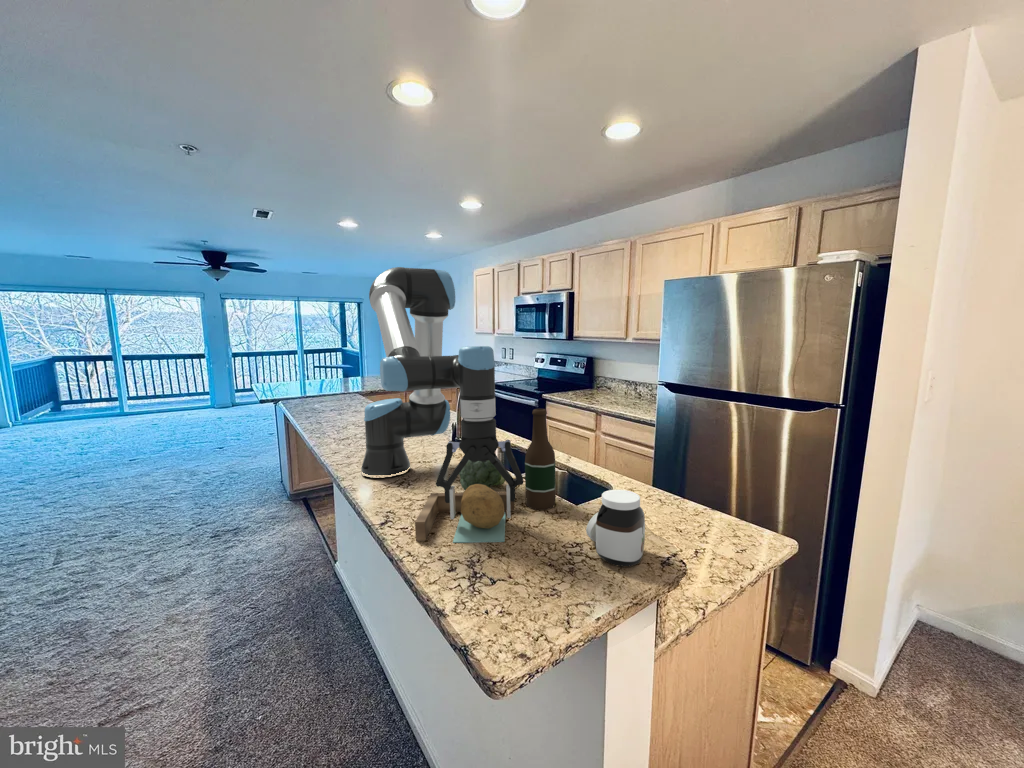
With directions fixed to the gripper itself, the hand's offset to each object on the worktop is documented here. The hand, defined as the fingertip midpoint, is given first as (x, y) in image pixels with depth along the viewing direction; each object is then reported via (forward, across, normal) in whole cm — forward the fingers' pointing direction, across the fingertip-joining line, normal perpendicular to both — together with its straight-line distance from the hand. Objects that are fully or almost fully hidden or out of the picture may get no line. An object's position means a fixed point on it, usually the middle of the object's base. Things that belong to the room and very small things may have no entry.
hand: (480, 516), depth 88 cm
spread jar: (+3, +26, -12) cm, 29 cm away
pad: (+2, 0, 0) cm, 2 cm away
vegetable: (+3, -1, +23) cm, 23 cm away
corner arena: (+2, -3, +2) cm, 4 cm away
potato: (+2, 0, 0) cm, 2 cm away
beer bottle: (+3, +14, +12) cm, 19 cm away
